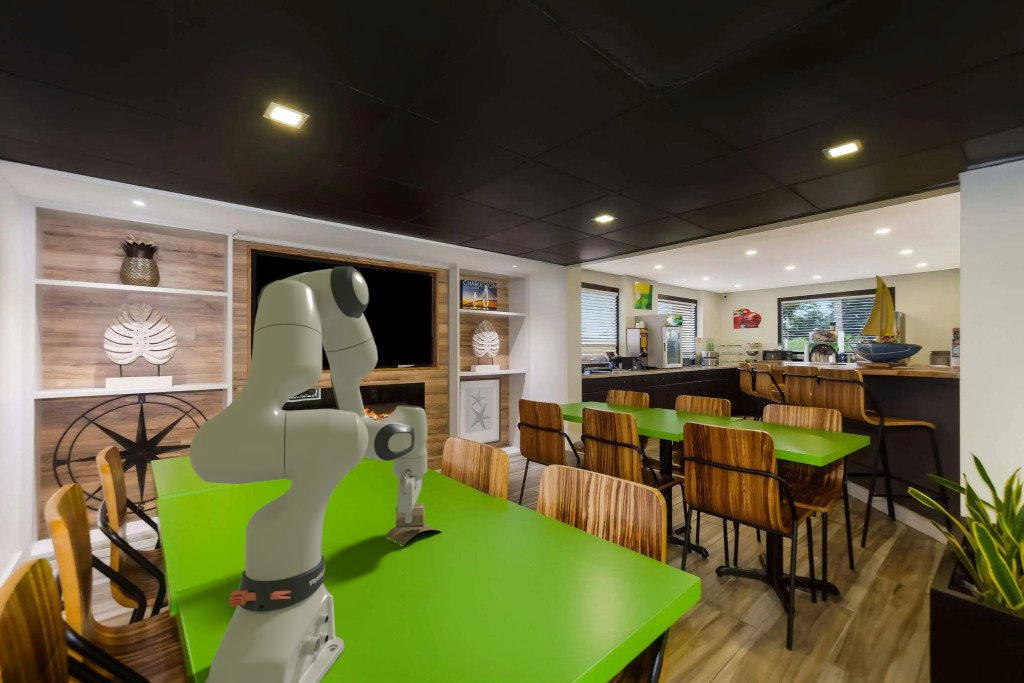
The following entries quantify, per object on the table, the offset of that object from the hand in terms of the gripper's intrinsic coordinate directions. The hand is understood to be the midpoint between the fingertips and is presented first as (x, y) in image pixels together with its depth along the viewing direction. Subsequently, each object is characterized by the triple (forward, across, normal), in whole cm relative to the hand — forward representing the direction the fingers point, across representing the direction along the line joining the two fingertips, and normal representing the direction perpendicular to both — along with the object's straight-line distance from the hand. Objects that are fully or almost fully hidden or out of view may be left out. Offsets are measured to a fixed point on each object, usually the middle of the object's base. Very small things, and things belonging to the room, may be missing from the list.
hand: (410, 518), depth 116 cm
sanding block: (+2, 0, 0) cm, 2 cm away
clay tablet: (+6, +3, 0) cm, 7 cm away
